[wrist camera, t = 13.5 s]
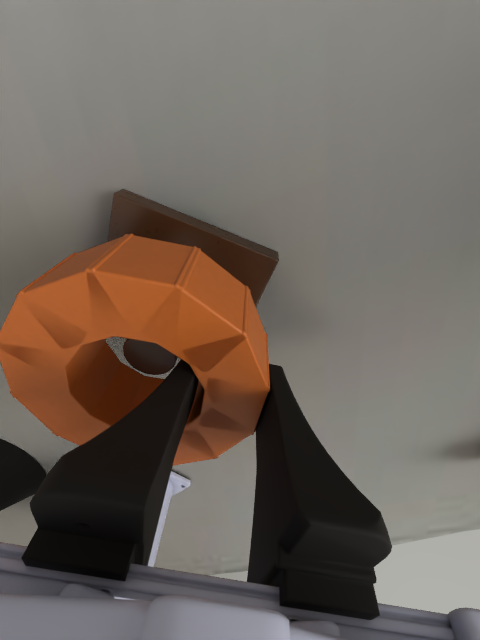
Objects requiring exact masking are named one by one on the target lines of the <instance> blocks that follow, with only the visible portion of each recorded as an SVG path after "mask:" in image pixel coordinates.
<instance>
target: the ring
mask: <svg viewBox="0 0 480 640" xmlns="http://www.w3.org/2000/svg"><path fill="white" fill-rule="evenodd" d="M16 297H17V298H16V300H15V302H14V304H13V306H12V308H11V310H10V312H9V314H8V316H7V318H6V320H5V322H4V324H3V326H2V328H1V331H0V362H1V365H2V368H3V371H4V373H5V376H6V379H7V382H8V385H9V388H10V390H11V391H10V393H11V394H12V396H13V397H14V398H16V399H17V400H18V401H19V402H20V403H21V404H23V405H24V406H25V407H26V408H27V409H28V410H29V411H30V412H31V413H32V414H33V415H34V416H36V417H37V418H38V419H39V420H40V421H41V422H42V423H43V424H44V425H45V426H46V427H47V428H49V429H50V430H51V431H52V433H53V434H55V435H56V436H60V437H62V438H64V439H67V440H69V441H71V442H73V443H75V444H78V445H82V444H84V443H86V442H87V441H89V440H91V439H92V438H94V437H95V436H97V435H98V434H100V433H101V432H103V431H104V430H106V429H107V428H109V427H110V426H112V425H113V424H115V423H116V422H118V421H119V420H120V419H122V418H123V417H124V416H125V415H127V414H128V413H129V412H130V411H132V410H133V409H134V408H135V407H137V406H138V405H139V404H140V403H141V402H142V401H144V400H145V399H146V398H147V397H148V396H149V395H150V394H151V393H152V392H153V391H154V390H155V389H156V388H157V387H158V386H159V385H160V384H161V383H162V382H163V381H164V380H165V379H160V378H154V377H148V376H144V375H142V374H140V373H139V372H137V371H135V370H133V369H132V368H130V367H128V366H126V365H125V364H123V363H121V362H120V360H119V359H118V358H117V356H116V355H115V353H114V352H113V351H112V349H111V348H110V347H109V345H108V344H107V343H106V338H110V337H113V336H117V337H122V338H128V339H134V340H140V341H146V342H151V343H156V344H158V345H160V346H161V347H163V348H164V349H166V350H167V351H169V352H171V353H172V354H174V355H175V356H177V357H179V358H180V359H182V360H183V361H185V362H187V363H188V364H189V365H190V366H191V368H192V370H193V371H194V373H195V375H196V377H197V378H198V380H199V381H198V386H197V390H196V394H195V399H194V403H193V406H192V409H191V411H190V414H189V417H188V420H187V423H186V426H185V428H184V431H183V434H182V437H181V440H180V443H179V445H178V448H177V452H176V455H175V458H174V462H173V465H178V464H184V463H190V462H197V461H203V460H209V459H215V458H218V456H219V455H221V454H222V453H224V452H225V451H227V450H228V449H230V448H231V447H233V446H234V445H236V444H237V443H239V442H240V441H242V440H243V439H245V438H246V437H248V436H249V435H253V434H254V432H255V431H256V426H257V423H258V420H259V417H260V414H261V411H262V409H263V406H264V403H265V400H266V397H267V394H268V392H269V391H270V378H269V359H268V340H267V334H266V333H265V331H264V328H263V326H262V323H261V320H260V318H259V315H258V312H257V310H256V307H255V304H254V302H253V299H252V296H251V293H250V289H249V288H248V286H245V285H243V284H242V283H241V282H240V281H238V280H237V279H236V278H235V277H233V276H232V275H231V274H230V273H228V272H227V271H226V270H225V269H223V268H222V267H221V266H220V265H218V264H217V263H216V262H215V261H213V260H212V259H211V258H210V257H208V256H207V255H206V254H205V253H203V252H202V251H201V249H200V248H197V247H195V246H194V247H191V246H186V245H180V244H175V243H170V242H165V241H160V240H155V239H150V238H145V237H140V236H135V235H133V234H125V235H124V236H123V237H120V238H117V239H115V240H112V241H109V242H106V243H104V244H101V245H98V246H95V247H93V248H90V249H87V250H85V251H82V252H79V253H73V254H71V255H70V256H69V257H67V258H66V259H64V260H63V261H62V262H60V263H59V264H57V265H56V266H54V267H53V268H52V269H50V270H49V271H47V272H46V273H45V274H43V275H42V276H40V277H39V278H38V279H36V280H35V281H33V282H32V283H31V284H29V285H28V286H26V287H25V288H24V289H22V290H21V291H20V292H19V293H18V294H17V295H16Z"/></svg>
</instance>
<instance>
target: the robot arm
mask: <svg viewBox="0 0 480 640" xmlns="http://www.w3.org/2000/svg"><path fill="white" fill-rule="evenodd" d="M269 378H270V391H269V392H268V394H267V397H266V400H265V403H264V406H263V409H262V411H261V414H260V417H259V420H258V423H257V426H256V455H257V474H256V489H255V503H254V515H253V527H252V538H251V549H250V558H249V568H248V577H247V582H243V581H237V580H231V579H225V578H219V577H212V576H206V575H200V574H194V573H188V572H182V571H175V570H169V569H163V568H157V567H154V563H155V559H156V555H157V551H158V548H159V544H160V540H161V536H162V532H163V528H164V524H165V520H166V516H167V512H168V508H169V504H170V500H171V497H172V496H174V495H175V494H177V493H179V492H180V491H182V490H184V489H185V488H187V487H189V486H190V483H191V481H190V480H189V479H187V478H185V477H183V476H181V475H179V474H177V473H175V472H173V471H171V470H172V466H173V462H174V458H175V455H176V452H177V448H178V445H179V443H180V440H181V437H182V434H183V431H184V428H185V426H186V423H187V420H188V417H189V414H190V411H191V409H192V406H193V403H194V399H195V394H196V390H197V386H198V381H199V380H198V378H197V377H196V375H195V373H194V371H193V370H192V368H191V366H190V365H189V364H188V363H187V362H185V361H183V360H182V359H181V360H180V362H179V363H178V364H177V366H176V367H175V368H174V369H173V371H172V372H171V373H170V374H169V375H168V376H167V378H166V379H165V380H164V381H163V382H162V383H161V384H160V385H159V386H158V387H157V388H156V389H155V390H154V391H153V392H152V393H151V394H150V395H149V396H148V397H147V398H146V399H145V400H144V401H142V402H141V403H140V404H139V405H138V406H137V407H135V408H134V409H133V410H132V411H130V412H129V413H128V414H127V415H125V416H124V417H123V418H122V419H120V420H119V421H118V422H116V423H115V424H113V425H112V426H110V427H109V428H107V429H106V430H104V431H103V432H101V433H100V434H98V435H97V436H95V437H94V438H92V439H91V440H89V441H87V442H86V443H84V444H82V445H80V446H79V447H77V448H75V449H74V450H72V451H70V452H68V453H67V454H65V455H63V456H62V457H61V458H60V459H59V461H58V462H57V463H56V464H55V465H54V467H53V468H52V469H51V471H50V472H49V473H48V474H47V476H46V477H45V478H44V480H43V482H42V483H41V485H40V487H39V488H38V490H37V492H36V493H35V495H34V497H33V498H32V500H31V502H30V507H31V511H32V514H33V516H34V518H35V520H36V523H37V525H38V529H37V531H36V532H35V534H34V536H33V538H32V540H31V541H30V543H29V545H28V547H27V546H20V545H14V544H8V543H2V542H0V640H480V610H479V609H473V608H459V609H455V610H453V611H451V612H449V614H442V613H435V612H430V611H423V610H417V609H411V608H404V607H398V606H392V605H386V604H379V603H377V599H376V595H375V591H374V587H373V583H376V576H375V571H374V566H376V565H377V564H378V563H379V562H381V561H382V560H384V559H385V558H386V557H387V556H388V555H389V554H390V552H391V548H392V545H391V542H390V538H389V535H388V531H387V528H386V525H385V523H384V520H383V518H382V515H381V512H380V511H379V510H378V509H377V508H376V507H375V506H374V505H373V504H372V503H371V502H370V501H369V500H368V499H367V498H366V497H365V496H364V495H363V494H362V493H361V492H360V491H359V490H358V489H357V488H356V487H355V485H354V484H353V483H352V482H351V481H350V480H349V479H348V478H347V476H346V475H345V474H344V473H343V472H342V471H341V469H340V468H339V467H338V465H337V464H336V463H335V462H334V460H333V459H332V458H331V457H330V455H329V454H328V453H327V451H326V450H325V448H324V447H323V446H322V444H321V443H320V441H319V440H318V438H317V437H316V435H315V434H314V432H313V430H312V429H311V427H310V425H309V424H308V422H307V420H306V418H305V417H304V415H303V413H302V411H301V409H300V407H299V405H298V403H297V401H296V399H295V397H294V395H293V393H292V391H291V388H290V386H289V384H288V381H287V379H286V376H285V374H284V371H283V368H282V367H281V366H277V365H272V364H269Z"/></svg>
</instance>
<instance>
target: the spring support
mask: <svg viewBox="0 0 480 640" xmlns="http://www.w3.org/2000/svg"><path fill="white" fill-rule="evenodd" d="M45 477H46V475H45V472H44V470H43V469H42V467H41V466H40V465H39V464H38V463H37V461H36V460H35V459H33V458H32V457H31V456H30V455H28V454H27V453H26V452H24V451H23V450H21V449H19V448H18V447H16V446H14V445H12V444H10V443H8V442H6V441H3V440H1V439H0V511H1V510H3V509H5V508H7V507H9V506H11V505H13V504H15V503H17V502H19V501H21V500H23V499H25V498H27V497H29V496H32V495H34V494H35V493H36V492H37V490H38V488H39V487H40V485H41V483H42V482H43V480H44V478H45Z"/></svg>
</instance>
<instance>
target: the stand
mask: <svg viewBox="0 0 480 640" xmlns="http://www.w3.org/2000/svg"><path fill="white" fill-rule="evenodd" d="M125 234H133V235H135V236H140V237H145V238H150V239H155V240H160V241H165V242H170V243H175V244H180V245H186V246H191V247H194V246H195V247H197V248H200V249H201V251H202V252H203V253H205V254H206V255H207V256H208V257H210V258H211V259H212V260H213V261H215V262H216V263H217V264H218V265H220V266H221V267H222V268H223V269H225V270H226V271H227V272H228V273H230V274H231V275H232V276H233V277H235V278H236V279H237V280H238V281H240V282H241V283H242V284H243V285H245V286H248V288H249V289H250V293H251V296H252V299H253V302H254V304H255V307H256V305H257V303H258V301H259V299H260V297H261V295H262V293H263V291H264V289H265V287H266V285H267V283H268V281H269V279H270V277H271V275H272V273H273V271H274V269H275V267H276V265H277V263H278V261H279V258H278V252H276V251H274V250H271V249H269V248H266V247H264V246H261V245H259V244H256V243H254V242H252V241H249V240H247V239H244V238H242V237H239V236H237V235H234V234H232V233H230V232H227V231H225V230H222V229H220V228H217V227H215V226H212V225H210V224H208V223H205V222H203V221H200V220H198V219H195V218H193V217H190V216H188V215H186V214H183V213H181V212H178V211H176V210H173V209H171V208H168V207H166V206H164V205H161V204H159V203H156V202H154V201H151V200H149V199H146V198H144V197H142V196H139V195H137V194H134V193H132V192H129V191H127V190H124V189H123V190H121V191H118V192H116V193H114V197H113V205H112V212H111V220H110V227H109V234H108V242H109V241H112V240H115V239H117V238H120V237H123V236H124V235H125ZM126 339H127V340H126V342H125V343H124V347H123V352H124V356H125V358H126V360H127V361H128V363H129V364H130V365H131V366H133V367H134V368H135V369H137V370H139V371H141V372H143V373H147V374H152V375H159V374H164V373H166V372H168V371H170V370H171V369H172V368H173V367H174V365H175V363H176V360H177V358H178V357H177V356H175V355H174V354H172V353H171V352H169V351H167V350H166V349H164V348H163V347H161V346H160V345H158V344H156V343H151V342H146V341H140V340H134V339H128V338H126Z"/></svg>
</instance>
